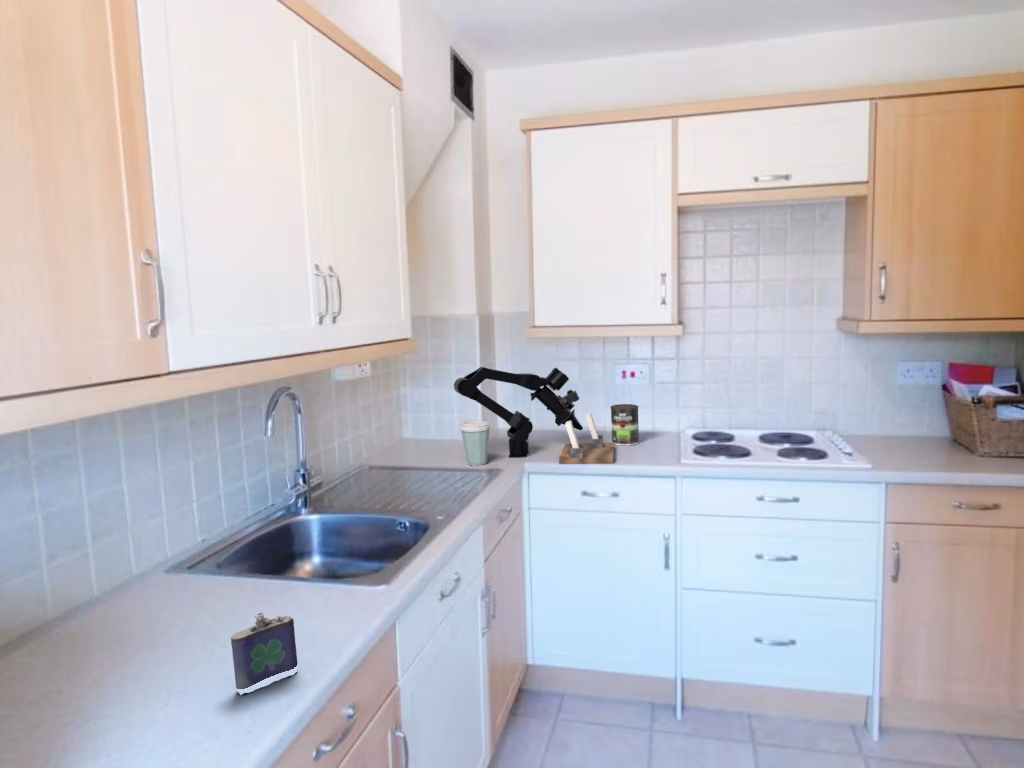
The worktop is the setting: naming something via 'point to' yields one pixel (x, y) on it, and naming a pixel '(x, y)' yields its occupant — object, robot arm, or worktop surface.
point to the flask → (263, 650)
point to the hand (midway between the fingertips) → (582, 429)
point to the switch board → (588, 453)
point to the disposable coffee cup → (475, 441)
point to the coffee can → (624, 424)
